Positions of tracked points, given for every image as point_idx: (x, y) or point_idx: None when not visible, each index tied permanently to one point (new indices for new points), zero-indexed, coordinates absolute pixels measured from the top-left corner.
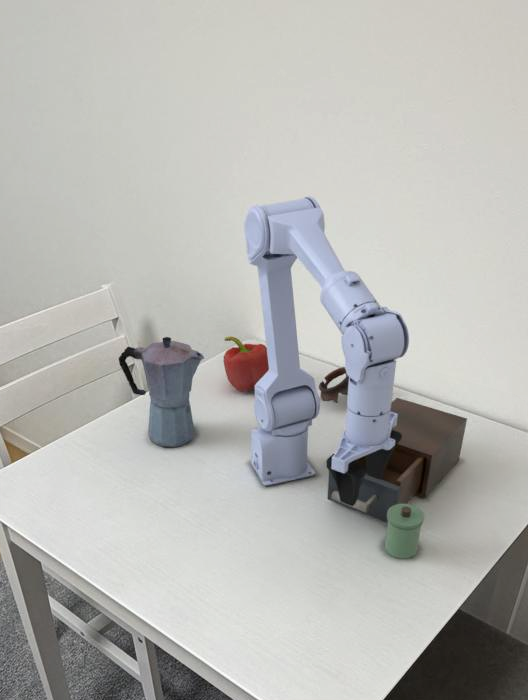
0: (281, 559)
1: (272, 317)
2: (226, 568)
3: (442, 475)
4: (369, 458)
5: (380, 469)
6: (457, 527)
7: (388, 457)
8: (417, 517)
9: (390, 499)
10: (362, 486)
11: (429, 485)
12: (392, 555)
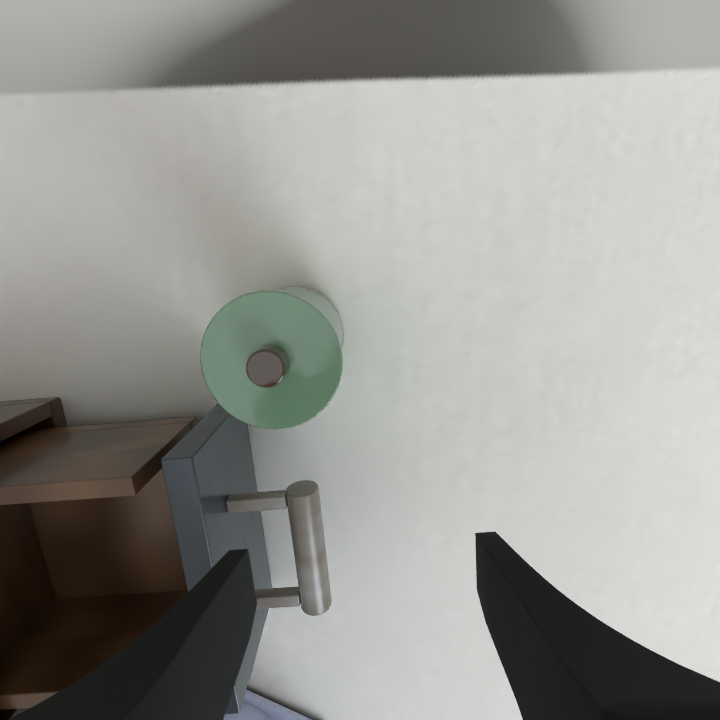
0: (535, 540)
1: None
2: (639, 613)
3: None
4: (223, 690)
5: (228, 592)
6: (98, 251)
7: (168, 635)
8: (255, 318)
9: (216, 455)
10: None
11: (9, 411)
12: (343, 333)
